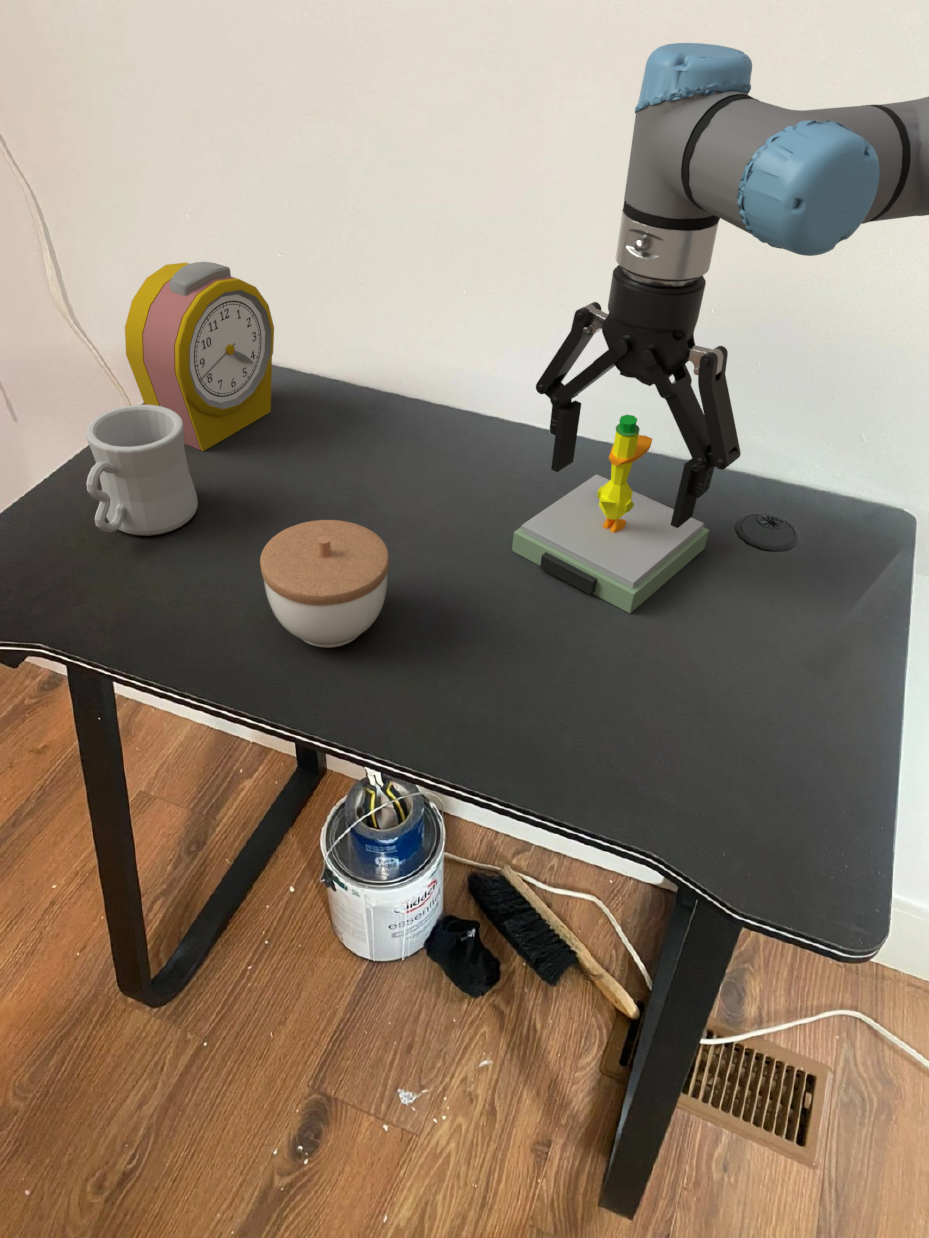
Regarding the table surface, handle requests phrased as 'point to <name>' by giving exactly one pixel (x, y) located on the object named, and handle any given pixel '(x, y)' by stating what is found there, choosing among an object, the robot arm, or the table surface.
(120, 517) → the mug
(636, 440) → the toy figure
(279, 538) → the trinket box
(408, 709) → the table surface
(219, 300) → the alarm clock
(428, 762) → the table surface
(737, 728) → the table surface
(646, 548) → the kitchen scale
